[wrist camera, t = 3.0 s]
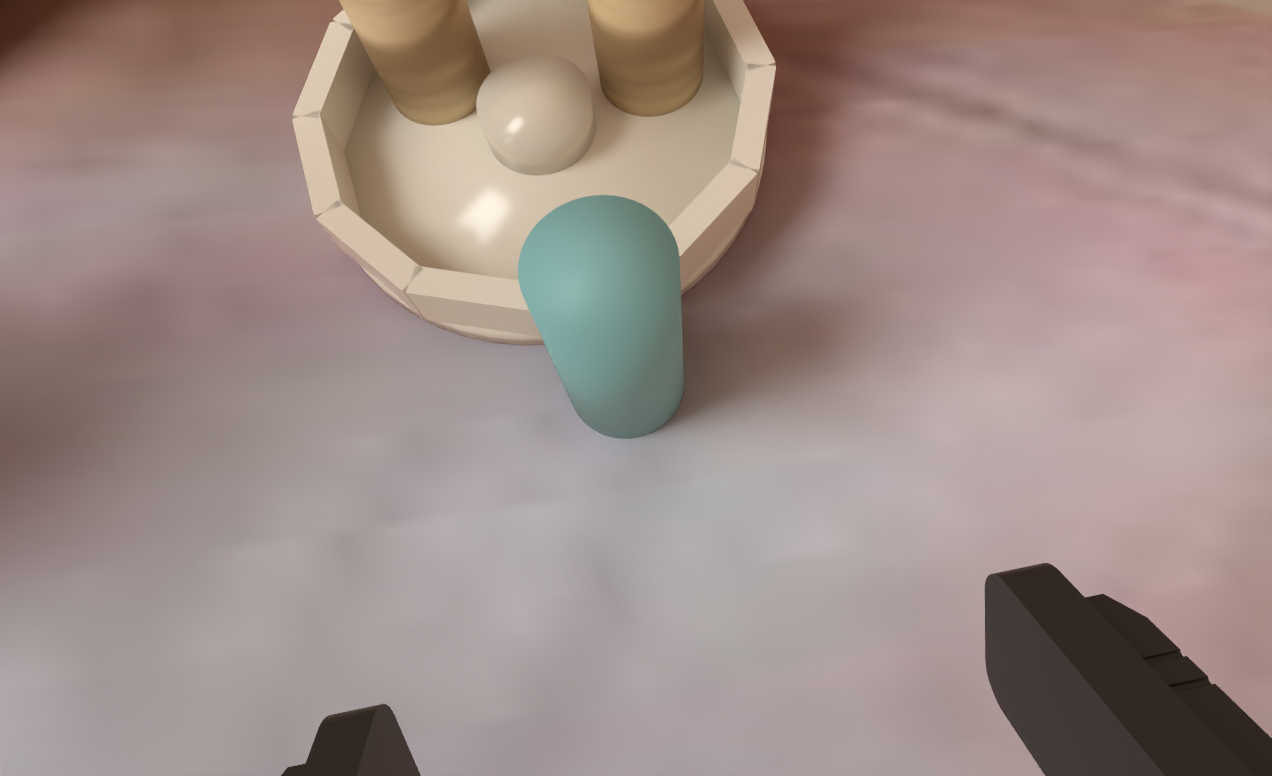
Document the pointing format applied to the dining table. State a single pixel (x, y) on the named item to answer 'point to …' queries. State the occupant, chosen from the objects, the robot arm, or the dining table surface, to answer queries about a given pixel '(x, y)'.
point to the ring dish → (491, 211)
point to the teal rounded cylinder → (609, 310)
